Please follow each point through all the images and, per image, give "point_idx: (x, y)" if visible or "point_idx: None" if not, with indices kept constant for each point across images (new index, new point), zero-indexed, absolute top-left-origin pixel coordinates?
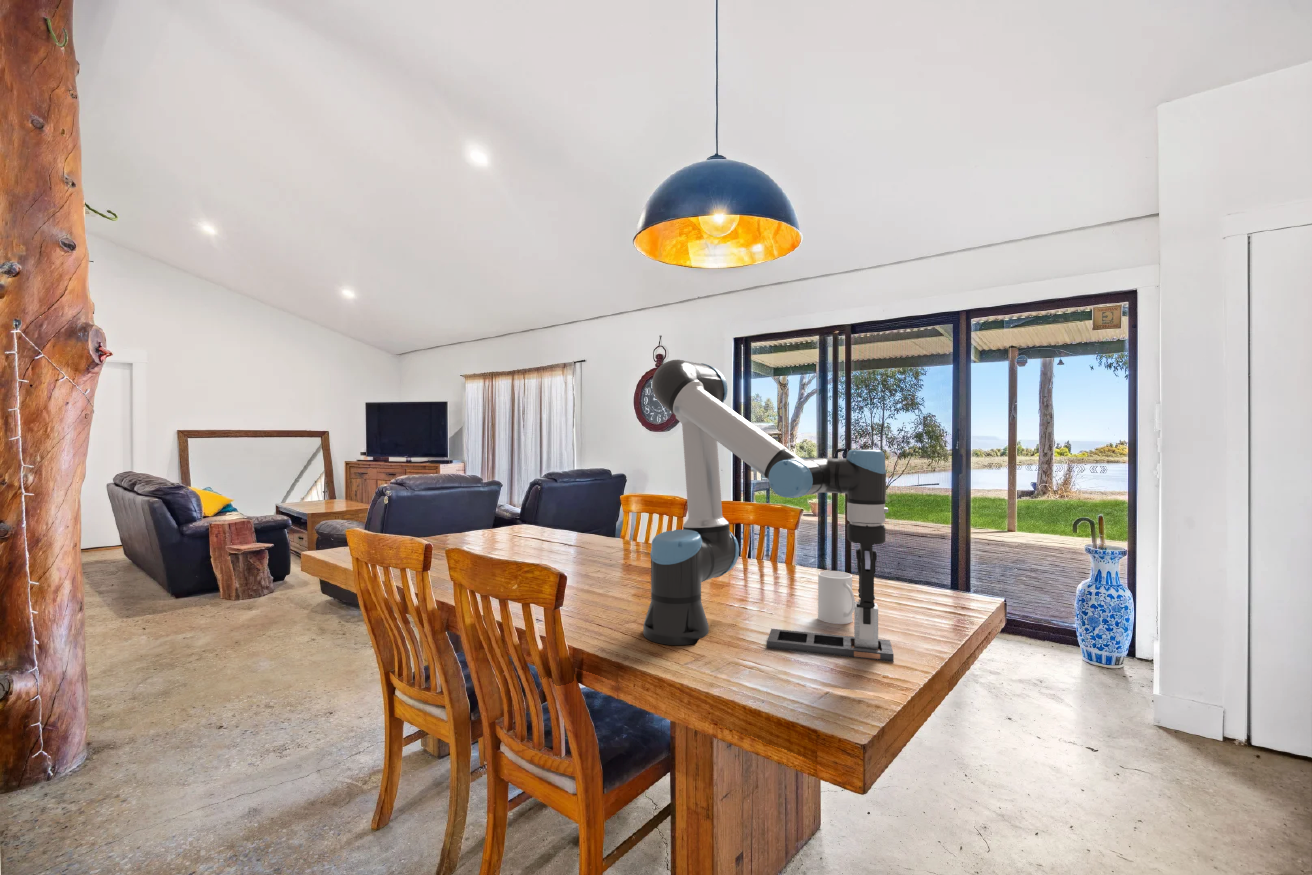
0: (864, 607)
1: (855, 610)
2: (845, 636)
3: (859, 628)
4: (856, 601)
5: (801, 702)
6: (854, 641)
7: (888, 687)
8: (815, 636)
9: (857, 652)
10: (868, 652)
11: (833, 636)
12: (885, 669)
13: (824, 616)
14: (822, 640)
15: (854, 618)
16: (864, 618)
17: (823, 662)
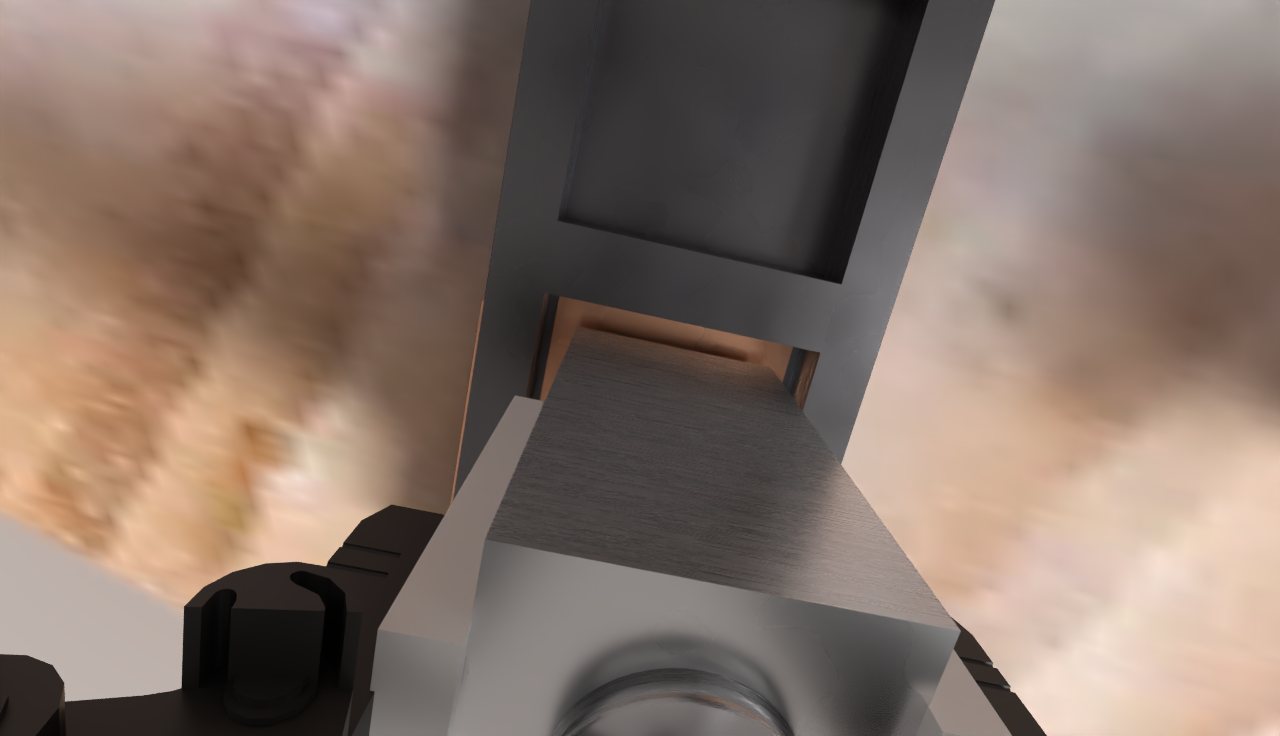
0: (145, 712)
1: (499, 510)
2: (870, 313)
3: (521, 440)
4: (945, 666)
5: None
6: (707, 363)
7: (66, 411)
8: None
9: (477, 329)
10: (467, 422)
11: (872, 185)
12: (401, 481)
13: None
14: (889, 72)
15: (783, 460)
16: (337, 565)
17: (464, 6)
